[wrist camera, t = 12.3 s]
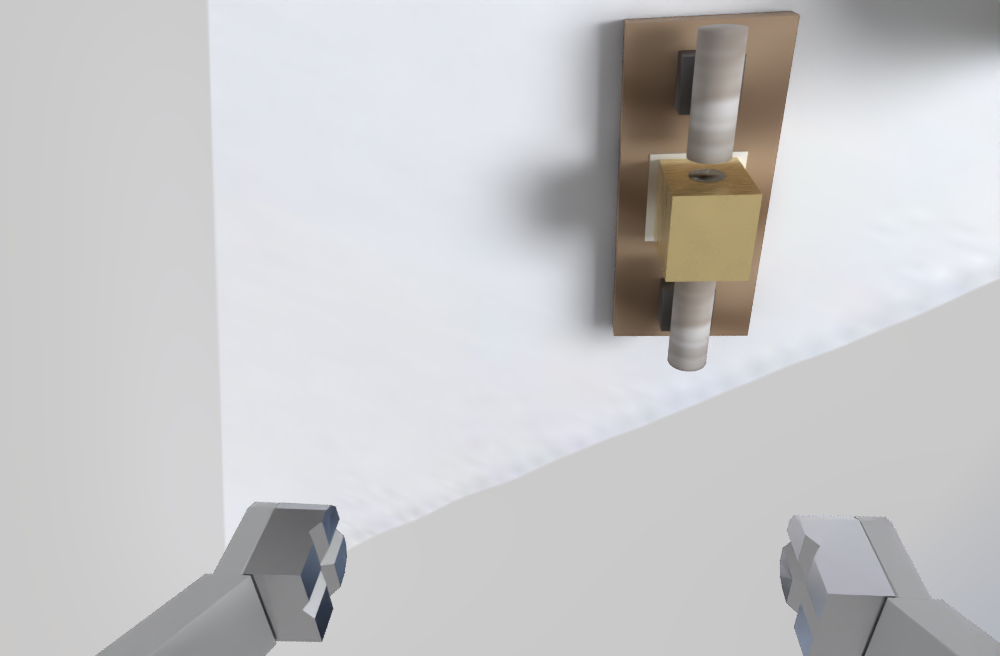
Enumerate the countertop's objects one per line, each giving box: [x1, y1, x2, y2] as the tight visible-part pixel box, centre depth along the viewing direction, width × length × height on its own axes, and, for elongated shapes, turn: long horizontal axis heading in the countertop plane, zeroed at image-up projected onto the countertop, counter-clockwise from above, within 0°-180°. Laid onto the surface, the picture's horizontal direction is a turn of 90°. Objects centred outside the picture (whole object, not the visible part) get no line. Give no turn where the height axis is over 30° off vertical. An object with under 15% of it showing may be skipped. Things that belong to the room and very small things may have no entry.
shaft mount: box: [613, 11, 800, 371], centre depth 40 cm, size 20×9×6 cm, turn 3°
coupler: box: [654, 157, 762, 282], centre depth 38 cm, size 5×4×6 cm
